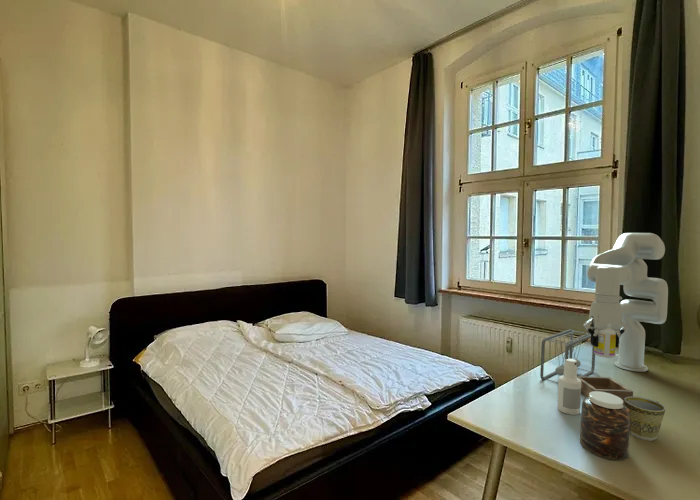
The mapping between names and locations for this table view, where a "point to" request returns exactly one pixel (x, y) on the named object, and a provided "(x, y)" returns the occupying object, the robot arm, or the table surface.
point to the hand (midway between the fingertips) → (604, 345)
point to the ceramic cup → (644, 417)
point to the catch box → (603, 386)
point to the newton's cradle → (560, 369)
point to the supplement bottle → (606, 343)
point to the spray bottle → (569, 389)
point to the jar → (605, 426)
